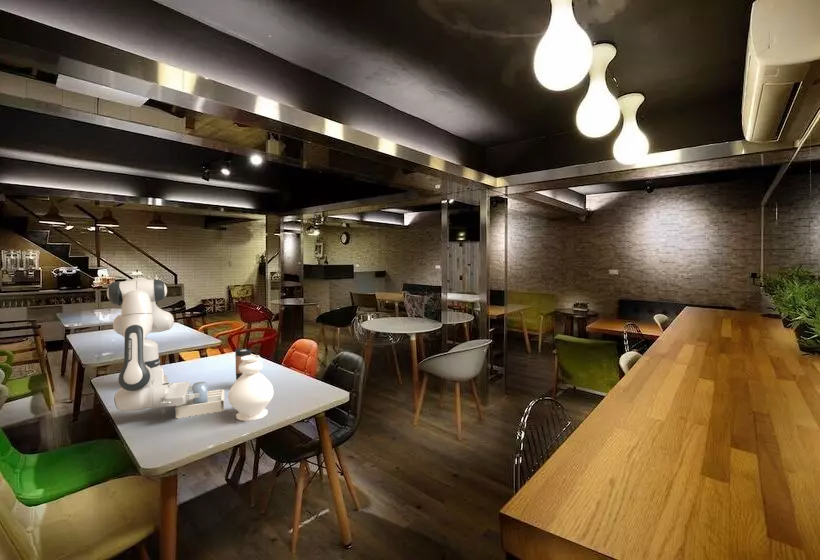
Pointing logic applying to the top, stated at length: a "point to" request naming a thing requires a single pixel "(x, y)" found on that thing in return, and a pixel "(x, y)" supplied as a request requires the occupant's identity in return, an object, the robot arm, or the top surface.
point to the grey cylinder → (200, 392)
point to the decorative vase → (250, 390)
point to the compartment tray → (202, 405)
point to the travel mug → (239, 354)
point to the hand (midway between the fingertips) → (200, 390)
